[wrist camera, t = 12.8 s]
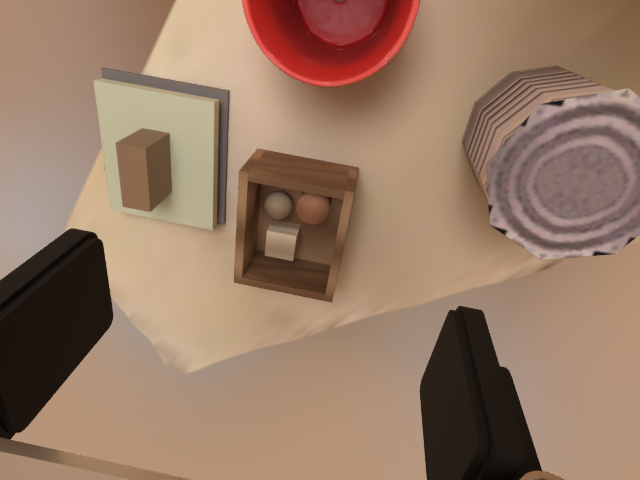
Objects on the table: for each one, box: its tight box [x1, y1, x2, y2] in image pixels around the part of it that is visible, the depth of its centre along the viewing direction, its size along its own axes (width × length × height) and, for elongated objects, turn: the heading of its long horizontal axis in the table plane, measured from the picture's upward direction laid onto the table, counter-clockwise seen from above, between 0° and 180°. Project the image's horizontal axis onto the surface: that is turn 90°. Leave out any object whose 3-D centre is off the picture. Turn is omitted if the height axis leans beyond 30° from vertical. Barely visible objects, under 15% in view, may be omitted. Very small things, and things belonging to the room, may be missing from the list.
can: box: [462, 66, 640, 260], centre depth 32 cm, size 11×11×12 cm
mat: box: [102, 68, 229, 224], centre depth 42 cm, size 14×12×1 cm
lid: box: [94, 78, 219, 230], centre depth 39 cm, size 13×11×7 cm
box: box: [234, 149, 358, 302], centre depth 42 cm, size 12×10×6 cm
